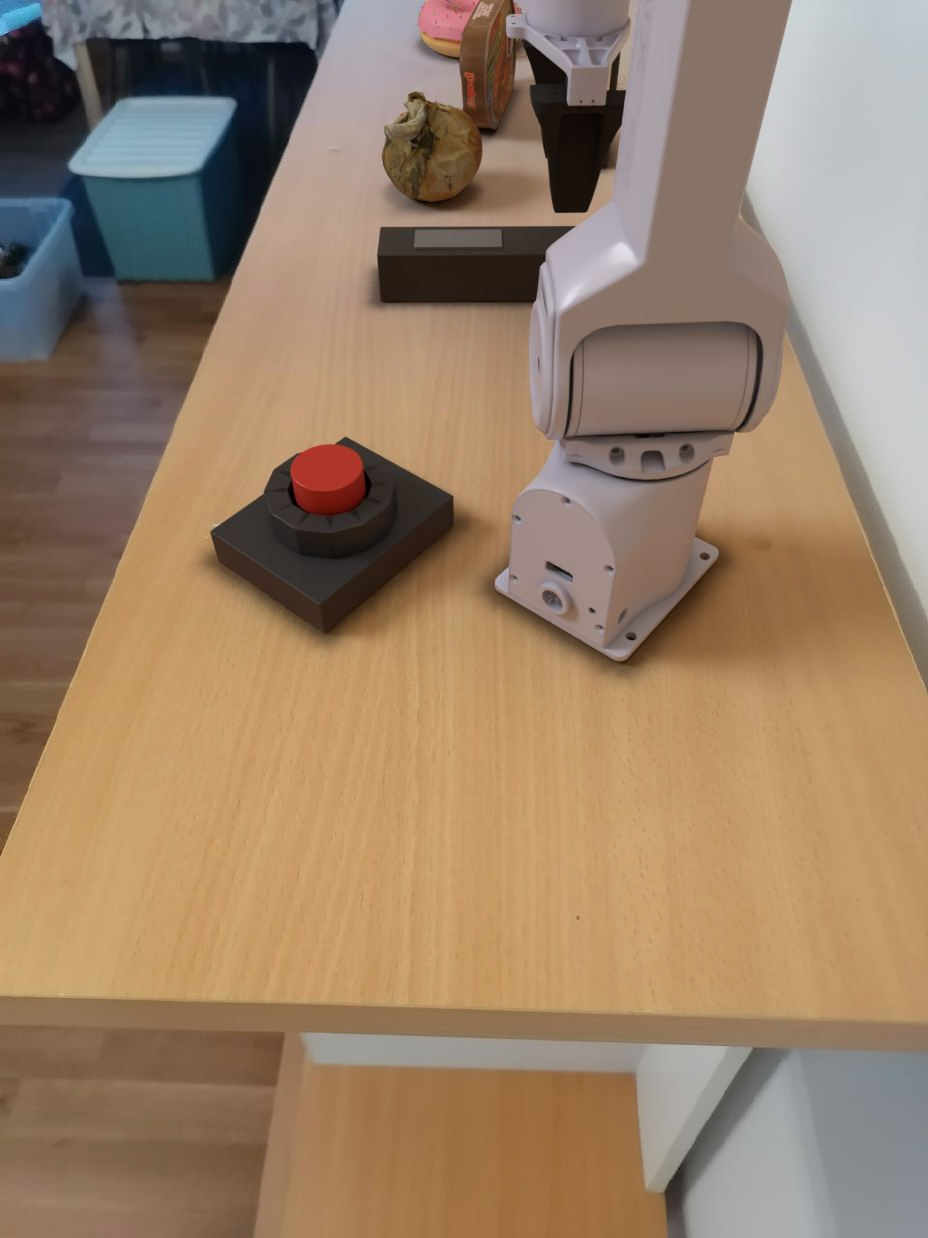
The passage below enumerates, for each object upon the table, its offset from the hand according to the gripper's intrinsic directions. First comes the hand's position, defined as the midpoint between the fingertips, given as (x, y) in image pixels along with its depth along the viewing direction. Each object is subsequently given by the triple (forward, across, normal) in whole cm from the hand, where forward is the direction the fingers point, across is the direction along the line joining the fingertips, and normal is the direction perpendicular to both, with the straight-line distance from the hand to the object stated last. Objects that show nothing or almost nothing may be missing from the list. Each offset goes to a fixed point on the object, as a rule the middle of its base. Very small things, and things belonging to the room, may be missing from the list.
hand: (565, 181), depth 61 cm
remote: (+8, -2, -5) cm, 10 cm away
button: (+5, +24, -14) cm, 28 cm away
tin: (+8, -33, -4) cm, 34 cm away
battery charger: (+8, -24, +4) cm, 26 cm away
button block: (+8, +24, -14) cm, 29 cm away
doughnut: (+8, -50, -5) cm, 51 cm away
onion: (+8, -16, -9) cm, 20 cm away
